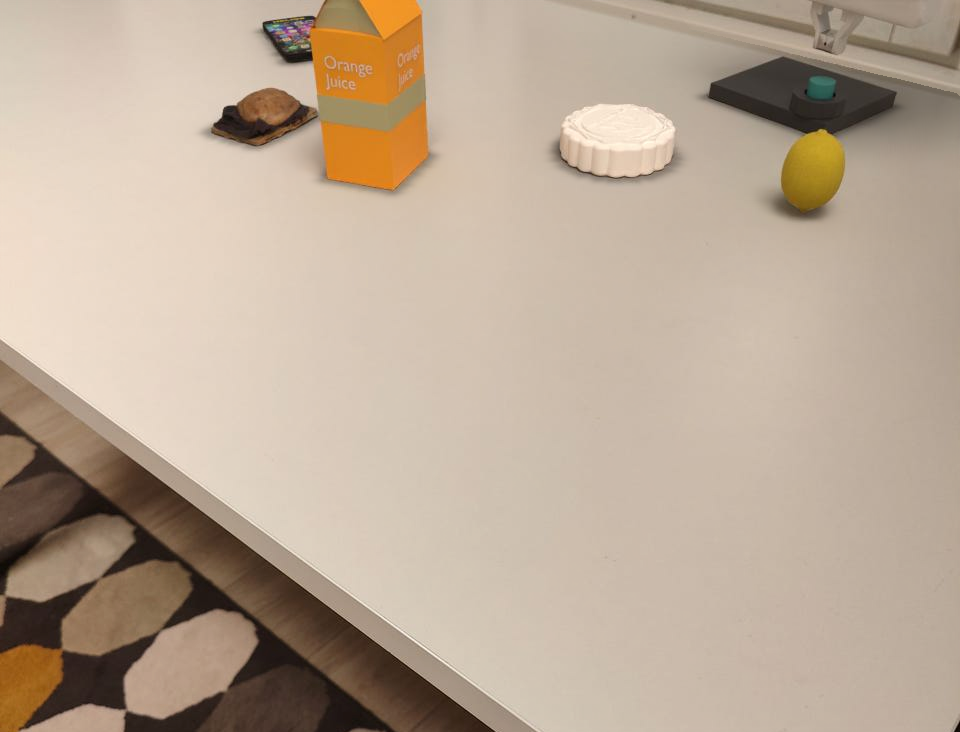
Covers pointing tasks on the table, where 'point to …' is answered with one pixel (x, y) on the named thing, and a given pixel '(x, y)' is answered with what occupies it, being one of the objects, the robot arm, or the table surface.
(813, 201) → the lemon
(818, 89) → the button
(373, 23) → the orange juice
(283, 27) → the smartphone
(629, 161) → the mooncake
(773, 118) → the push button box
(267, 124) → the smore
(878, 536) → the table surface
